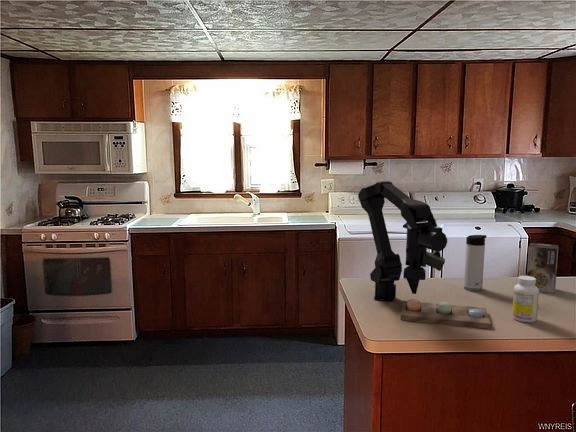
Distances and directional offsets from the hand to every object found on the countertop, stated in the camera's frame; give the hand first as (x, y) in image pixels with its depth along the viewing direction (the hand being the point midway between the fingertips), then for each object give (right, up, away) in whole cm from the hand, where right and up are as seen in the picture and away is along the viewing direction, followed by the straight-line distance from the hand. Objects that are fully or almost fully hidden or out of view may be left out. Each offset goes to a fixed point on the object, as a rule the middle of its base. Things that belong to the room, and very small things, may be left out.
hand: (414, 293), depth 143 cm
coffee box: (+52, -2, +23) cm, 56 cm away
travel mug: (+28, -3, +24) cm, 37 cm away
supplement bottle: (+32, -7, -4) cm, 33 cm away
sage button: (+9, -5, -2) cm, 10 cm away
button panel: (+9, -7, -2) cm, 11 cm away
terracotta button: (0, -5, +1) cm, 5 cm away
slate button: (+17, -7, -4) cm, 19 cm away
